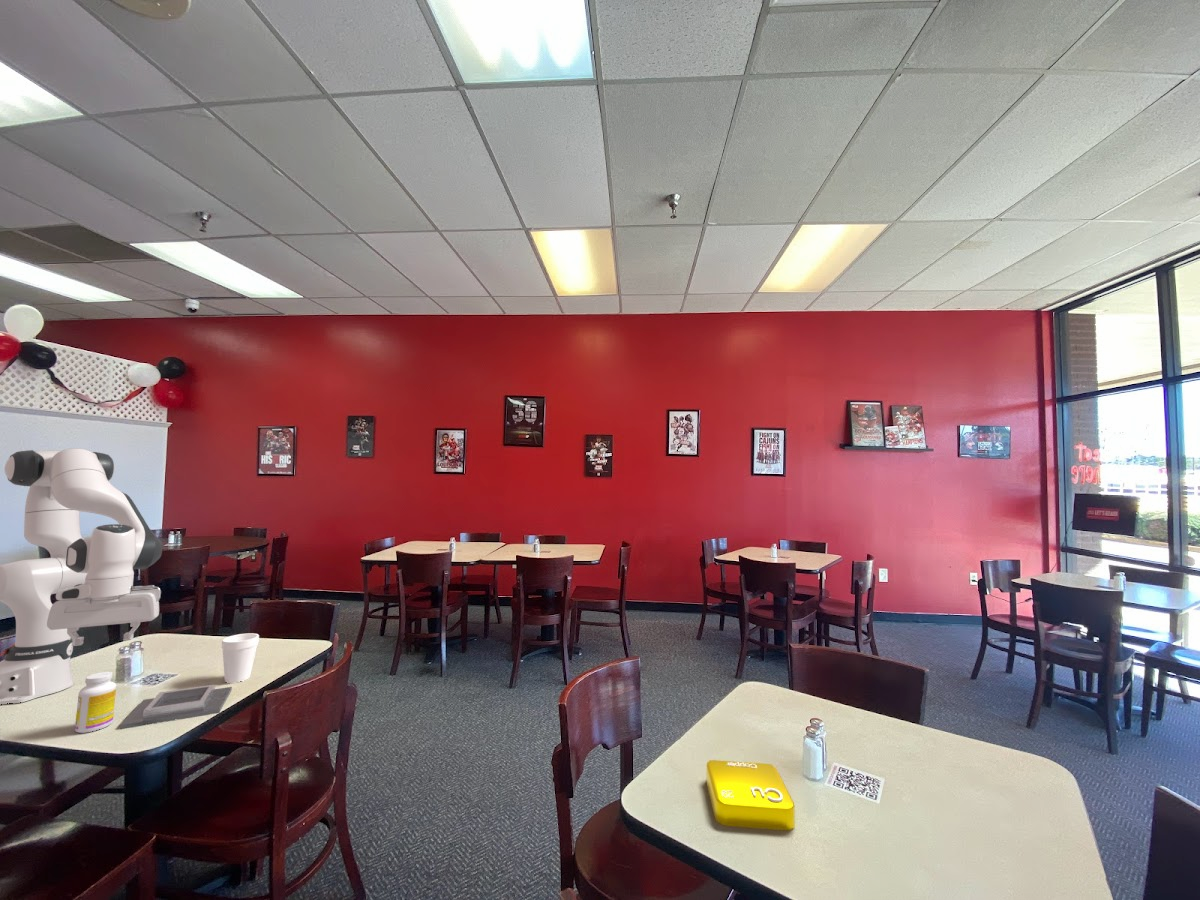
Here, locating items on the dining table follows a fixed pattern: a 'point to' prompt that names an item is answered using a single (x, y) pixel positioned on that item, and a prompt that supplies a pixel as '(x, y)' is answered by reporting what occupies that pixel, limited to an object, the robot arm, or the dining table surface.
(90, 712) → the supplement bottle
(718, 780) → the element tile
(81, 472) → the robot arm
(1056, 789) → the dining table surface
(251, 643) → the foam cup
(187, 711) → the grey tray
